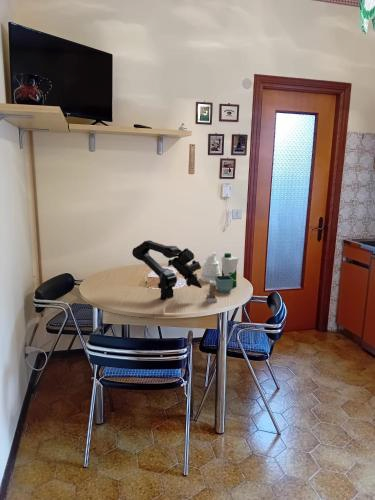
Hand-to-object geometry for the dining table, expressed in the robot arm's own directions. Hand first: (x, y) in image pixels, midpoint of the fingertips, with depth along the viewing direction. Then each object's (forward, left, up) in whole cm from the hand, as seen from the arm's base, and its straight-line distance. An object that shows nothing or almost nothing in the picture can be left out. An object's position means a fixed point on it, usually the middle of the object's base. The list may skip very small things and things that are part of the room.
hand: (201, 287), depth 203 cm
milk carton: (+19, +31, -8) cm, 37 cm away
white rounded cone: (+9, +45, -8) cm, 46 cm away
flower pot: (+14, +17, -8) cm, 23 cm away
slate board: (0, +1, -8) cm, 8 cm away
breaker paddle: (+6, 0, -7) cm, 9 cm away
